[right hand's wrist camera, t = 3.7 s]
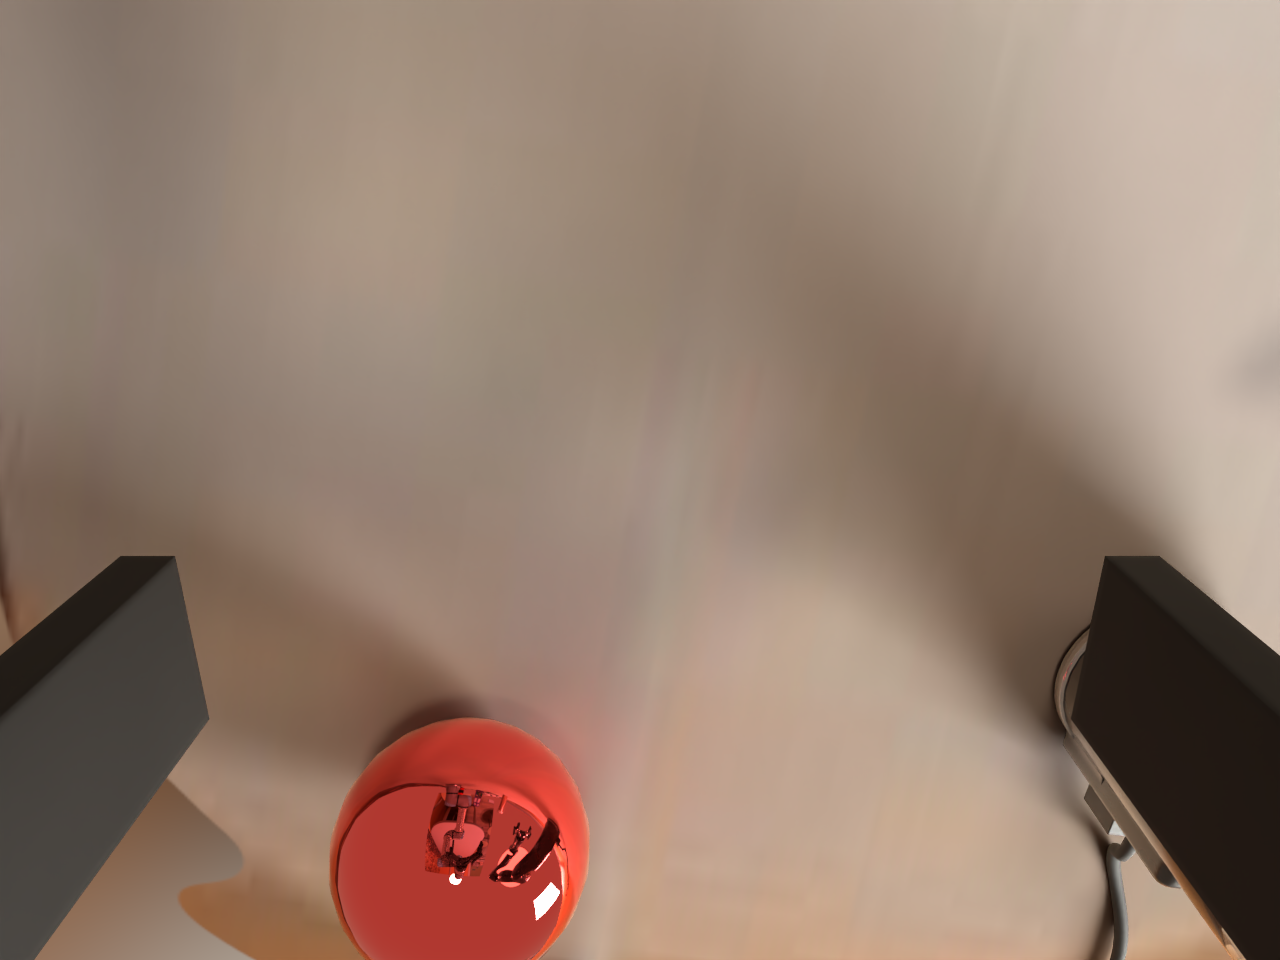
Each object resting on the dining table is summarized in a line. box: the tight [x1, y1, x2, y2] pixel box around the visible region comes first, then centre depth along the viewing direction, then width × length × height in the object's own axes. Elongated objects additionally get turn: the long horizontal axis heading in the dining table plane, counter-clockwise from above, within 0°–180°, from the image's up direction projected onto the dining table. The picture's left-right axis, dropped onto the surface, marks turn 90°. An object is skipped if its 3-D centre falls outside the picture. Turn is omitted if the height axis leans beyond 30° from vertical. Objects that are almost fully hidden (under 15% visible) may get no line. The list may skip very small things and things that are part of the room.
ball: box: [329, 717, 589, 960], centre depth 42 cm, size 12×12×12 cm
